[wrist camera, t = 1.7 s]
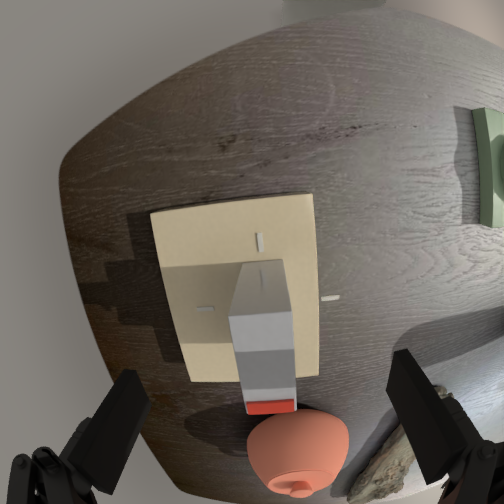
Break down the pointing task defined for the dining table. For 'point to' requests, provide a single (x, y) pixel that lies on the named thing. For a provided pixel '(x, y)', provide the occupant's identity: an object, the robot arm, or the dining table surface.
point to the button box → (490, 165)
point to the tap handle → (264, 338)
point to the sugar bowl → (298, 451)
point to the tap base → (236, 273)
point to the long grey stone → (387, 466)
